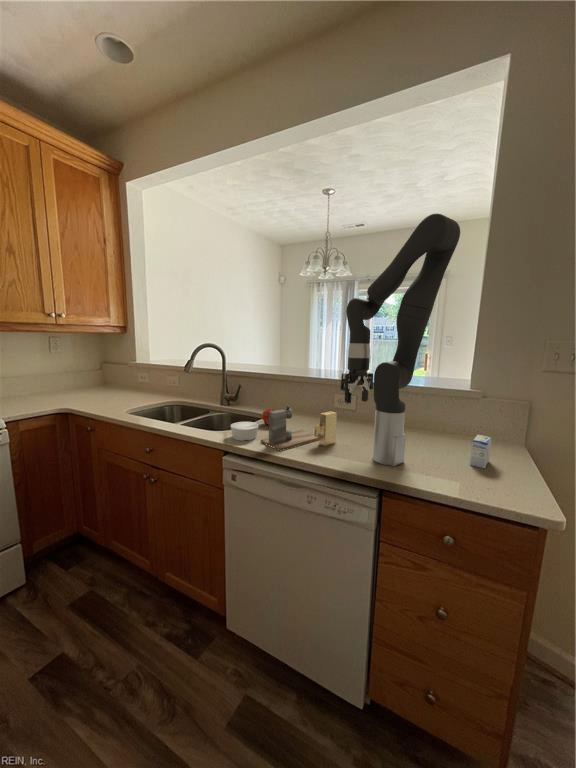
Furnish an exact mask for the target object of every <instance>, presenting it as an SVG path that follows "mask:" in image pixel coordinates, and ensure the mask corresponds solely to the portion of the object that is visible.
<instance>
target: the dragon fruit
mask: <svg viewBox="0 0 576 768" xmlns="http://www.w3.org/2000/svg"><path fill="white" fill-rule="evenodd" d="M275 410H276V409H274V408H271V407H269V408H267V409H265V410H264V411H263V412H262V415H261V417H260V420H263V423H264V425H265V426H267V425H269V412H270V411H275Z"/></svg>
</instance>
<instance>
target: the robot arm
mask: <svg viewBox="0 0 576 768" xmlns="http://www.w3.org/2000/svg"><path fill="white" fill-rule="evenodd" d="M460 236H461V228H460V225H459V223H458V222H457V221H456V220H454V219H453V218H450V217H448V216H446V215H444V214H441V213H432V214H429V215H427V216H426V217H424V218H423V219H422V220H421V221H420V222H419V224H418V225H417V226H416V228H414V230H413V231H412V233H411V234H410V235H409V237H408V239H406V241H405V243H404V244H403V246H402V247H401V248H400V249H399V251H398V252H397V254H396V256H395V257H394V258H393V260H392V261H391V262H390V264H389V265H387V267H386V268H385V269H384V270H383V271H382V273H380V275H379V276H378V277H377V278H376V279H375V280H374V281H373V282H372V283H371V284H370V285H369V287H368V288H367V296H368V297H367V298H365V299H364V298H362V297H361V298H360V297H354V298H351V299H350V300H349V301H348V303H347V306H346V310H345V311H346V321H347V324H348V328H349V346H348V351H347V353H348V354H347V370H348V373H341V377H340V391H341V392H342V391H343V392H344V402H345V403H346V404H351V403H352V391H353V389H355V388H356V386H357V387H358V386H360V387H361V389H362V391H361V401H362V402H365V403H367V402H368V399H369V392H370V390H373V402H374V404H375V414H374V427H373V428H374V430H373V444H372V445H373V446H372V460H373V461H374V462H376V463H378V464H381V465H385V466H392V467H396V466H398V465H400V464H403V463H404V462H405V452H406V437H407V435H406V433H404V428H405V417H406V403H405V402H404V401H403V400H401V399H400V390H401V389H404V388H406V387H407V386H408V385H409V384H411V382H412V378H413V375H414V371H415V367H416V363H417V358H418V354H419V350H420V347H421V345H422V341H423V338H424V335H425V332H426V329H427V326H428V323H429V321H430V319H431V314H432V312H433V309H434V305H435V302H436V299H437V296H438V294H439V290H440V288H441V285H442V282H443V279H444V276H445V274H446V270H447V268H448V266H449V264H450V261H451V259H452V257H453V254H454V252H455V250H456V248H457V246H458V244H459V241H460ZM424 255H425V257H424V261H423V264H422V265H421V269H420V270H419V273H418V274H417V276H416V277H415V279H414V280H413V281H412V282H411V284H410V285H409V287H408V288H407V290H406V291H404V294H403V296H402V298H401V302H400V305H399V308H398V311H397V314H396V315H397V316H396V333H397V347H396V350H395V354H394V355H393V359H392V361H383V362H381V363H379V364H378V365H377V366H376V368H375V370H374V373H373V372H368V371H369V370H370V363H371V362H370V360H371V329H370V328H369V327H368V326H366V325H365V322H364V321H367V320H368V321H369V320H371V319H373V318H374V317H375V316H376V315H377V313H379V311H380V309H381V308H382V306H383V305H384V303H385V302H386V301H387V300H388V299H389V298H390V297H391V296H392V295H393V294H394V293H395V292H396V291H397V290H398V289H399V288H400V286H402V284H403V282H404V280H405V278H406V277H407V274H408V273H409V271H410V269H411V267H413V265H414V264H415V262H417V260H419V259H420V258H421V257H422V256H424Z"/></svg>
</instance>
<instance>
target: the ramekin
mask: <svg viewBox="0 0 576 768" xmlns="http://www.w3.org/2000/svg"><path fill="white" fill-rule="evenodd" d="M230 429H231V435H232V438H233V439H234V440H235V439H236V440H235V441H238V440H249V441H253V440H255V439H256V438H257V435H258V430H259V424H258V423H256V422H253V421H238V422H233V423H231V424H230ZM254 438H255V439H254ZM252 439H253V440H252Z"/></svg>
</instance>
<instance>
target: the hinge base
mask: <svg viewBox="0 0 576 768" xmlns="http://www.w3.org/2000/svg"><path fill="white" fill-rule="evenodd" d="M292 418H293V409H292V408H290V405H287V406H286V408H282V409H277V410H276V409H275V411H270V412H269V424H268V437H267V438H262V439H260V443H261V442H263V443H265V444H267V445H266V446H268V445H270V446H272V447H274V448H273V449H275V448H276V449H275V450H277V449H279V450H283V449H286V450H288V449H287V448H289V449H292V448H291V447H293V448H295V447H294V446H296V447H299V446H298V445H300V446H302V444H303V445H307V444H310V443H312V442H317V441H319V440H320V437H315V436H314V434H315V433H312V432H309V431H307V430H303V429H299V430H294V431H292V430H288V429H287V419H292ZM309 442H310V443H309ZM263 443H262V444H263ZM306 443H307V444H306ZM265 444H264V445H265ZM270 446H269V447H270ZM272 447H271V448H272ZM279 450H278V451H279ZM283 451H284V450H283Z"/></svg>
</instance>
